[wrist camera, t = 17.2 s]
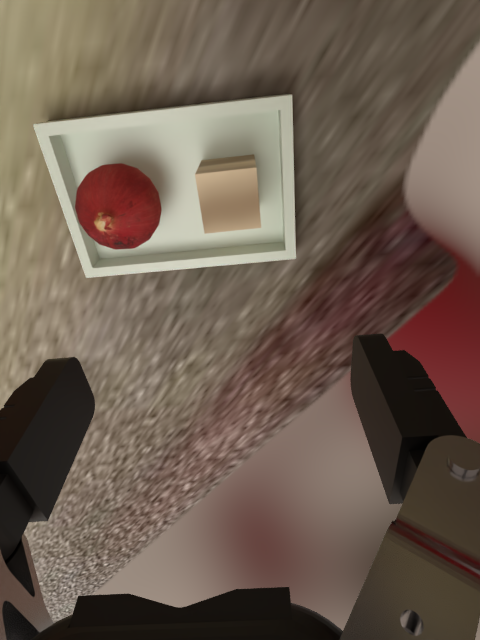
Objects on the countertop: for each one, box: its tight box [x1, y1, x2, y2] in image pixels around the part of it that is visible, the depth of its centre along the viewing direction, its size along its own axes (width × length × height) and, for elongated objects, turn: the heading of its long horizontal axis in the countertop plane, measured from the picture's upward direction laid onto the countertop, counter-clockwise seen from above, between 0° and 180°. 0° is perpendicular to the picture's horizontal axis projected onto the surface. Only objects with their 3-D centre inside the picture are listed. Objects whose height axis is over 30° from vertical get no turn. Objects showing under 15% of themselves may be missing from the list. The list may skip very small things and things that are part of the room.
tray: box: [33, 94, 296, 278], centre depth 30 cm, size 12×18×2 cm, turn 96°
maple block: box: [195, 154, 261, 234], centre depth 28 cm, size 4×4×5 cm
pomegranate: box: [75, 163, 162, 250], centre depth 27 cm, size 6×6×8 cm
